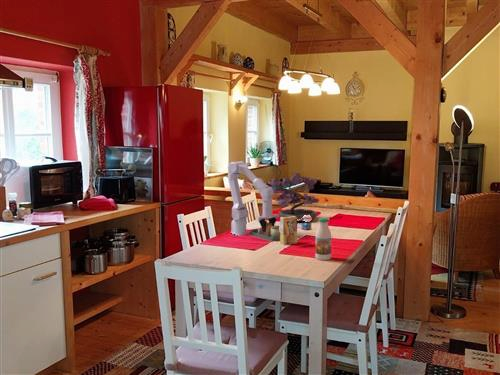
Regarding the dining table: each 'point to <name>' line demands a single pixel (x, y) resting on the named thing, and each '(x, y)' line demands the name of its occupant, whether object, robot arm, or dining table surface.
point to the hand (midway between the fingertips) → (267, 231)
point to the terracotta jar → (268, 229)
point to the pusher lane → (255, 233)
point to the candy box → (288, 230)
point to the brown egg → (274, 230)
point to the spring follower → (260, 231)
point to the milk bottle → (323, 240)
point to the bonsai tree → (294, 196)
